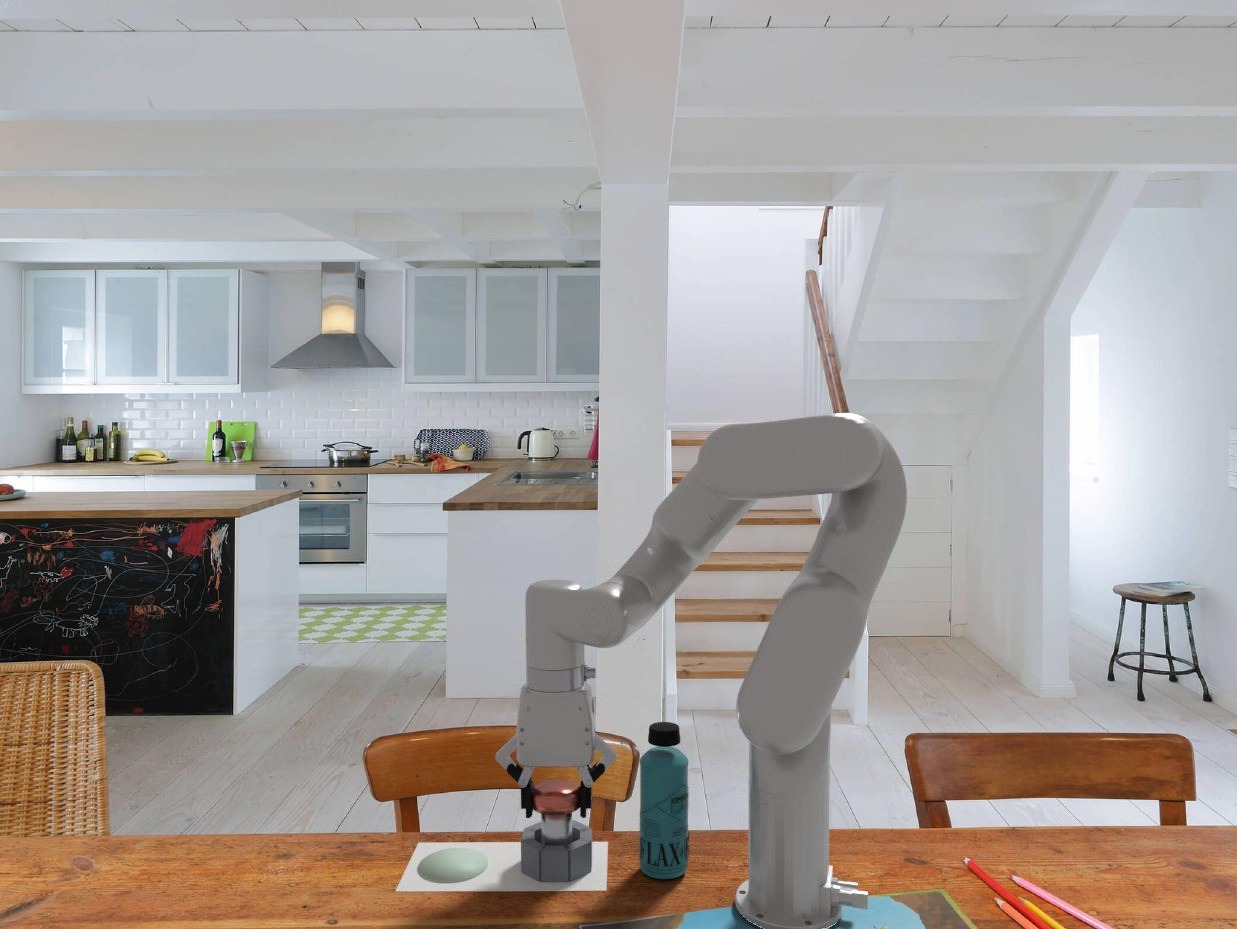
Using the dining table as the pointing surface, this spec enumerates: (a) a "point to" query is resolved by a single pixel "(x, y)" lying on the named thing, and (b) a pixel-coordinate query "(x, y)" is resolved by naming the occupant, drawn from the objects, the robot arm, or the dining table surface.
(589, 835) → the board
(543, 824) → the copper domed post
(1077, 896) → the dining table surface
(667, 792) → the beverage bottle
